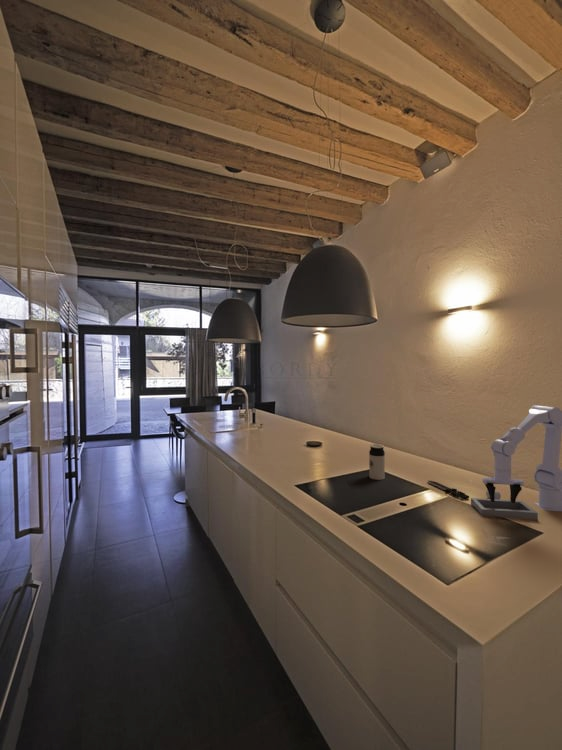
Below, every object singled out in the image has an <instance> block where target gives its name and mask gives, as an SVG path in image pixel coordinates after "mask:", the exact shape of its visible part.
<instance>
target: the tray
mask: <svg viewBox="0 0 562 750" xmlns="http://www.w3.org/2000/svg"><path fill="white" fill-rule="evenodd" d="M470 505H472V507H473V506H474V507H475V508H476V509H477V510H478V511H477V510H476V509H475V508H474V507H473V508H474V509H475V510H476V511H477V512H478V513H479V514H480V515H481V516H484V517H485V516H486V517H495V518H496V517H497V518H507V519H508V518H510V519H518V520H519V519H521V520H530V521H531V520H532V521H538V520H539V519H538V516H539V514H538V512H537V511H536V510H535V509H533V508H532V507H530V506H529V505H528V504H527V503H525V502H524V501H523V500H516V501H515V503H512V502H511V500H510V499H495V501H494V502H492V501H491V500H490V499H489V498H483V497H482V498H479V497H470Z"/></svg>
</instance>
